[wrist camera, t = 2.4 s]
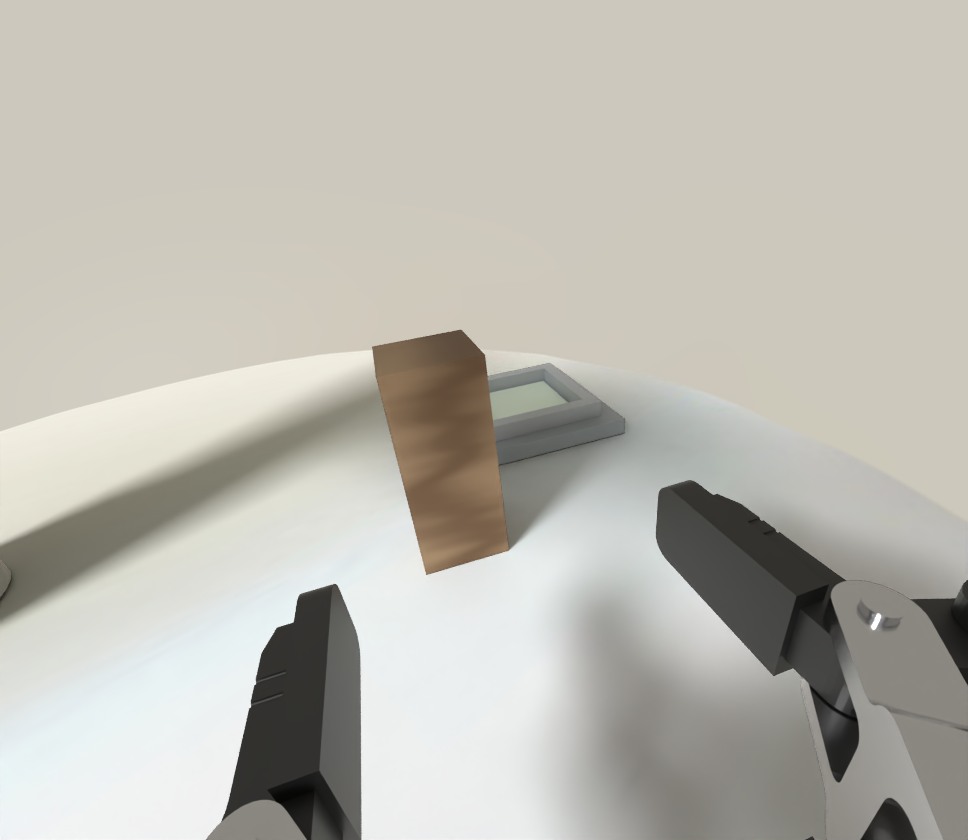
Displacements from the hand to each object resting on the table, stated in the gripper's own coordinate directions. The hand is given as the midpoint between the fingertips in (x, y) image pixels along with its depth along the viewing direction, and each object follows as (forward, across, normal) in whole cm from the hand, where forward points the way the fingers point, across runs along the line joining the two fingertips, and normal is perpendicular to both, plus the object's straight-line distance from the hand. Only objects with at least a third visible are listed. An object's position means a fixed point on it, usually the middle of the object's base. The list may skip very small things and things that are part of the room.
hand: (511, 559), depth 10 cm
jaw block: (+12, 0, +9) cm, 14 cm away
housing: (+23, -6, +9) cm, 25 cm away
